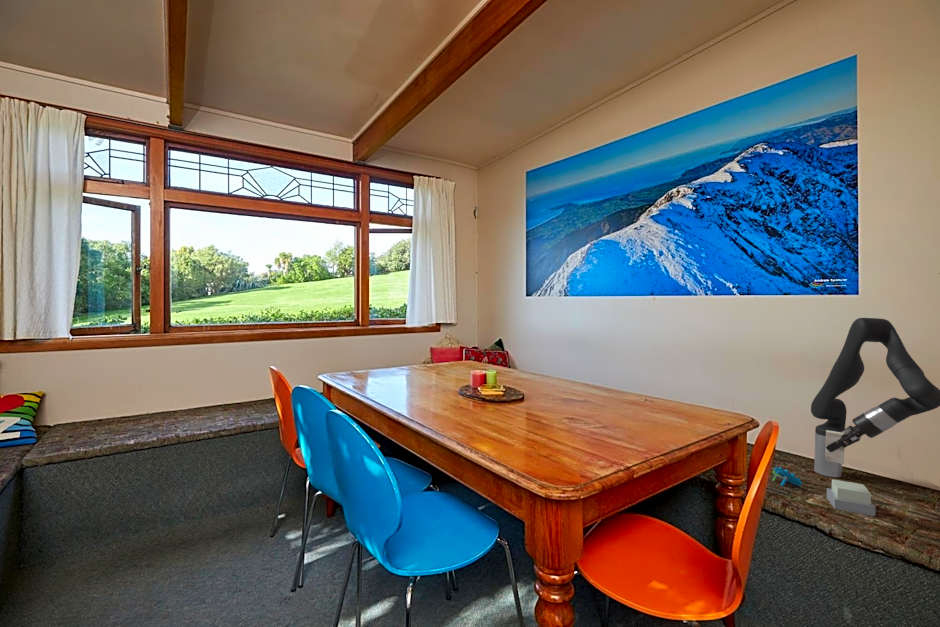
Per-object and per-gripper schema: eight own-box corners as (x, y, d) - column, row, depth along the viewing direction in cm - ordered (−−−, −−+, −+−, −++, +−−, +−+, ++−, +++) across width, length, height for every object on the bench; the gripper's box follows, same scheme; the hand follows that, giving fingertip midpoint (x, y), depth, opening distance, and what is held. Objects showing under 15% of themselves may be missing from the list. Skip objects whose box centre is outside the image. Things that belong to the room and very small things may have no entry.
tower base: (826, 498, 162) (826, 487, 162) (864, 505, 156) (864, 494, 156) (834, 510, 152) (834, 499, 152) (875, 517, 147) (875, 506, 147)
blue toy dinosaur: (809, 486, 167) (792, 468, 167) (801, 497, 166) (784, 480, 166) (783, 478, 178) (768, 462, 178) (776, 489, 177) (760, 473, 176)
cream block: (825, 456, 156) (826, 430, 156) (843, 459, 153) (844, 432, 153) (825, 460, 152) (826, 433, 152) (843, 464, 149) (844, 436, 149)
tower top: (831, 489, 160) (831, 479, 160) (863, 495, 156) (863, 484, 155) (837, 498, 152) (837, 487, 152) (870, 505, 148) (871, 493, 148)
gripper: (862, 408, 153) (818, 434, 161) (866, 417, 142) (818, 444, 150) (882, 426, 149) (836, 451, 158) (887, 435, 138) (838, 462, 146)
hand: (828, 447), depth 154 cm, fingers closed on cream block, 5 cm apart
